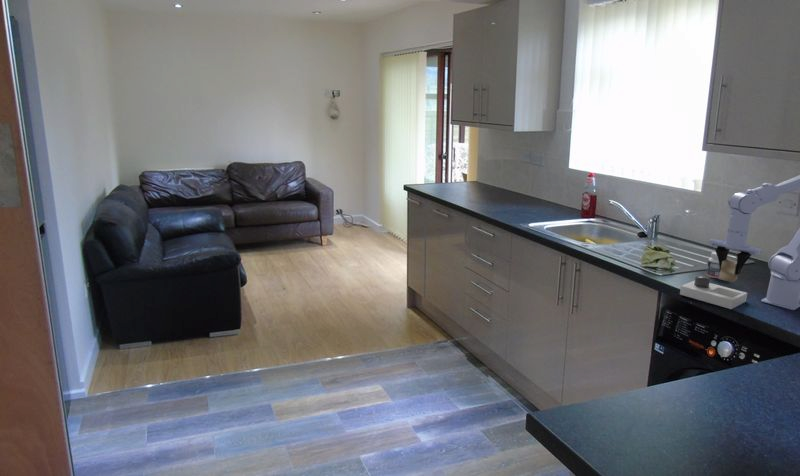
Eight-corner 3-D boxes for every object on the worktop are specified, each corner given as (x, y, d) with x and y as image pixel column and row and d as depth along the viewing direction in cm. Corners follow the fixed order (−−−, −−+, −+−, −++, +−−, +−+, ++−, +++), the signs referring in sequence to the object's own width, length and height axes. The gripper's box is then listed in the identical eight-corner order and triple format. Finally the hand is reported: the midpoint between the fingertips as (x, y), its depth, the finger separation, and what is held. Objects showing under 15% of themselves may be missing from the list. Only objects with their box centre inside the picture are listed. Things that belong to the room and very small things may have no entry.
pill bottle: (707, 273, 215) (711, 250, 212) (722, 276, 211) (727, 253, 209) (704, 276, 211) (708, 253, 208) (719, 279, 207) (724, 256, 205)
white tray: (745, 301, 185) (749, 284, 184) (731, 309, 178) (734, 291, 176) (695, 287, 197) (698, 271, 195) (679, 294, 189) (682, 277, 188)
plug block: (737, 279, 183) (740, 262, 181) (732, 282, 180) (735, 264, 179) (723, 276, 186) (727, 259, 184) (718, 278, 183) (722, 260, 181)
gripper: (708, 227, 182) (700, 268, 185) (758, 237, 171) (749, 280, 174) (717, 225, 186) (709, 264, 189) (766, 234, 175) (757, 276, 179)
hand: (729, 272), depth 182 cm, fingers closed on plug block, 4 cm apart
